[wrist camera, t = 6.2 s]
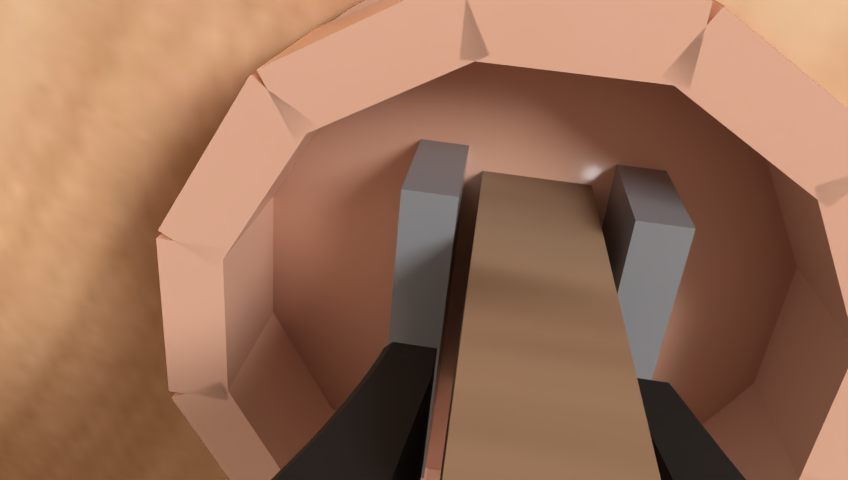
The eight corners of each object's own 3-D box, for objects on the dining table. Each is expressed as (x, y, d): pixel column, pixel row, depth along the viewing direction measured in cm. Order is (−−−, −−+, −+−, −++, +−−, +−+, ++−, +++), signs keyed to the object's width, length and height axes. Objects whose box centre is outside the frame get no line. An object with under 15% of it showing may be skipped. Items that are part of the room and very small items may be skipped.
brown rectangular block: (545, 396, 14) (565, 814, 8) (452, 382, 14) (398, 782, 8) (591, 184, 12) (669, 517, 6) (482, 170, 12) (442, 480, 6)
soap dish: (737, 535, 16) (781, 670, 13) (234, 455, 16) (177, 566, 14) (956, -3, 11) (1104, 35, 8) (215, -85, 11) (121, -75, 9)
